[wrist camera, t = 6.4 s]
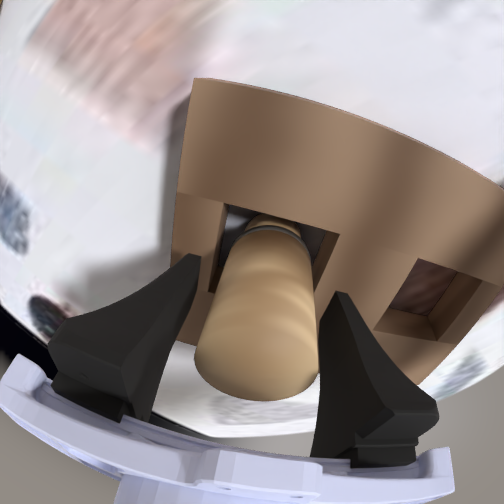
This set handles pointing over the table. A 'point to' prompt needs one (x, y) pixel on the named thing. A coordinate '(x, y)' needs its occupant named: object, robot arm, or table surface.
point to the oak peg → (262, 316)
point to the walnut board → (340, 211)
